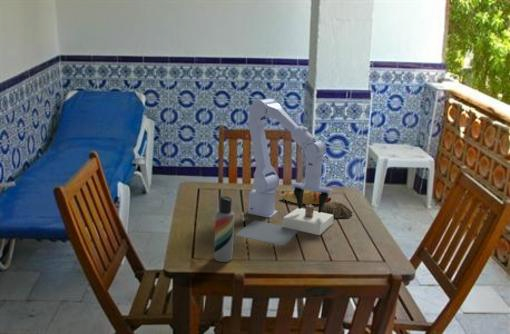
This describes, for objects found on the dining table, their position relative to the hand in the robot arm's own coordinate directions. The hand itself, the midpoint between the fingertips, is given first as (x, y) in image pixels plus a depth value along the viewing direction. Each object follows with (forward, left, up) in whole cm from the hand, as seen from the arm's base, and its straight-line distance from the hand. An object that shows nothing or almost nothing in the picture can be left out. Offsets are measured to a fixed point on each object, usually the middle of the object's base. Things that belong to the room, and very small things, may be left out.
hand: (310, 210), depth 201 cm
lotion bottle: (-14, -42, -6) cm, 45 cm away
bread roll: (+6, +18, -6) cm, 20 cm away
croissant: (-10, +25, -6) cm, 28 cm away
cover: (0, -1, -6) cm, 6 cm away
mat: (-10, -15, -6) cm, 19 cm away
